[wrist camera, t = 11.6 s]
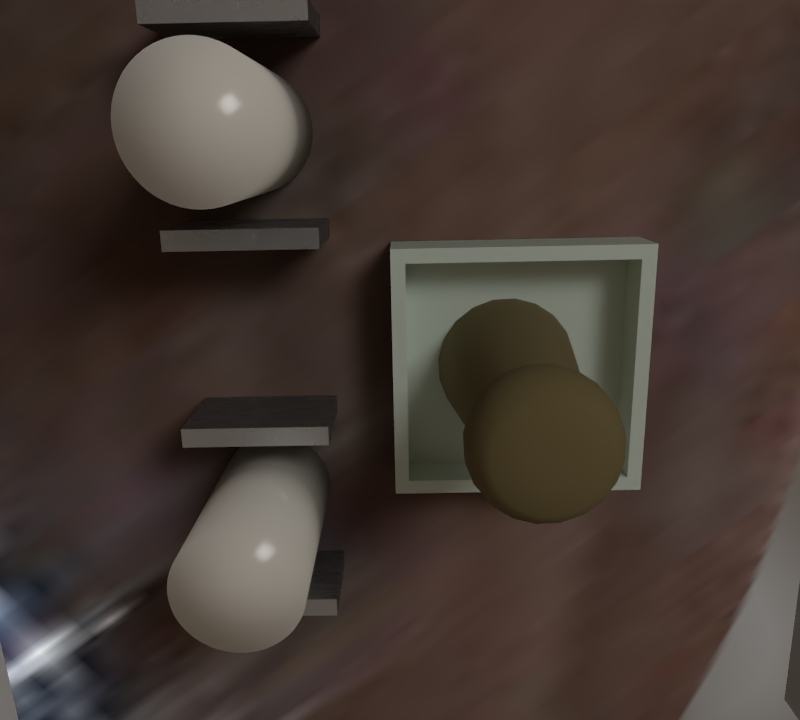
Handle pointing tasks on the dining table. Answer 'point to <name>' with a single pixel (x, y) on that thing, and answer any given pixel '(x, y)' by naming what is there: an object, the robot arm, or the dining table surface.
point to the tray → (529, 281)
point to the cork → (529, 413)
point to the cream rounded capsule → (252, 550)
